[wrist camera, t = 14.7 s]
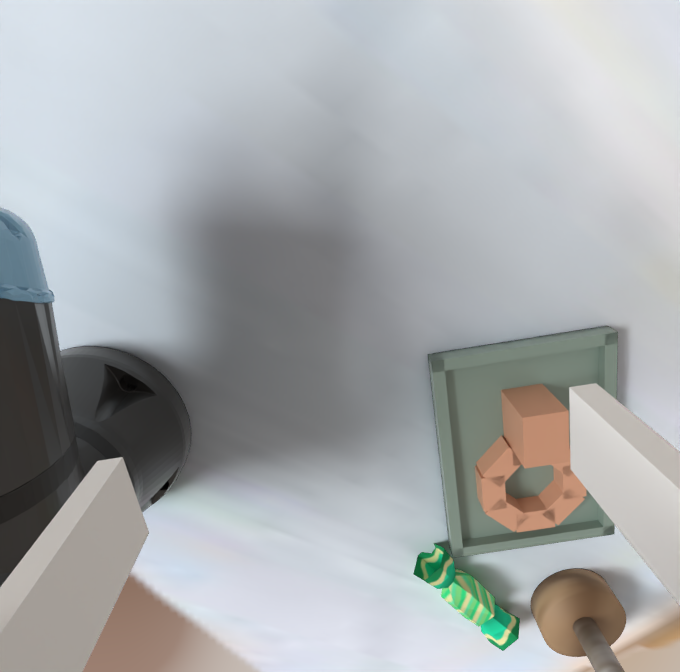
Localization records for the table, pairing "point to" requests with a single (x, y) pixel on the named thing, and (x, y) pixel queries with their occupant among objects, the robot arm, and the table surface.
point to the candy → (468, 597)
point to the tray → (487, 426)
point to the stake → (580, 617)
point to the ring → (529, 461)
